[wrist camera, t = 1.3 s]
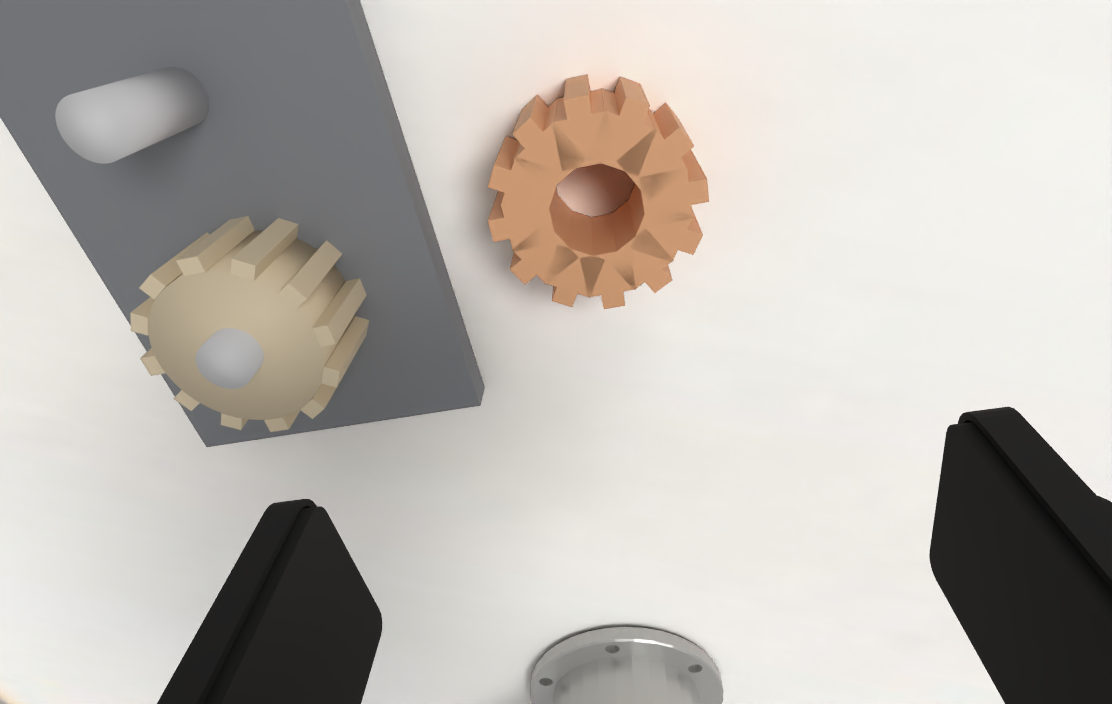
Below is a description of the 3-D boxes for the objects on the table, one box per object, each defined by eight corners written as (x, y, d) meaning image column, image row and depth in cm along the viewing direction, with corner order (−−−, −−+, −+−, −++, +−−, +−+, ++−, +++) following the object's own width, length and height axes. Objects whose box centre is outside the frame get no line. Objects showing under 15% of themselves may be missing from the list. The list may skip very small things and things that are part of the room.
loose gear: (700, 247, 27) (717, 290, 24) (524, 279, 28) (516, 324, 25) (680, 53, 23) (697, 71, 20) (477, 98, 24) (460, 122, 21)
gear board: (484, 387, 31) (463, 480, 26) (221, 428, 33) (149, 522, 28) (299, -186, 20) (193, -238, 15) (-81, -75, 22) (-301, -84, 17)
